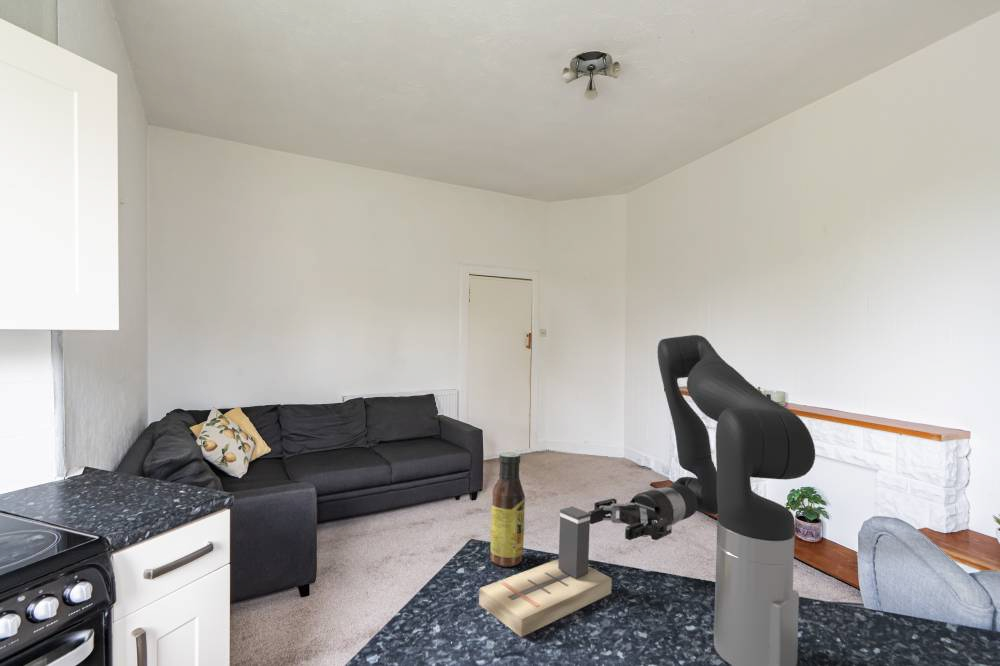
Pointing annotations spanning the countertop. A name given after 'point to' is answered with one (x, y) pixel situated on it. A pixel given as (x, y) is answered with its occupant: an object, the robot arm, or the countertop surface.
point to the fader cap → (574, 541)
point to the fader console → (541, 596)
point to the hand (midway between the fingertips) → (607, 525)
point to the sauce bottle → (507, 513)
